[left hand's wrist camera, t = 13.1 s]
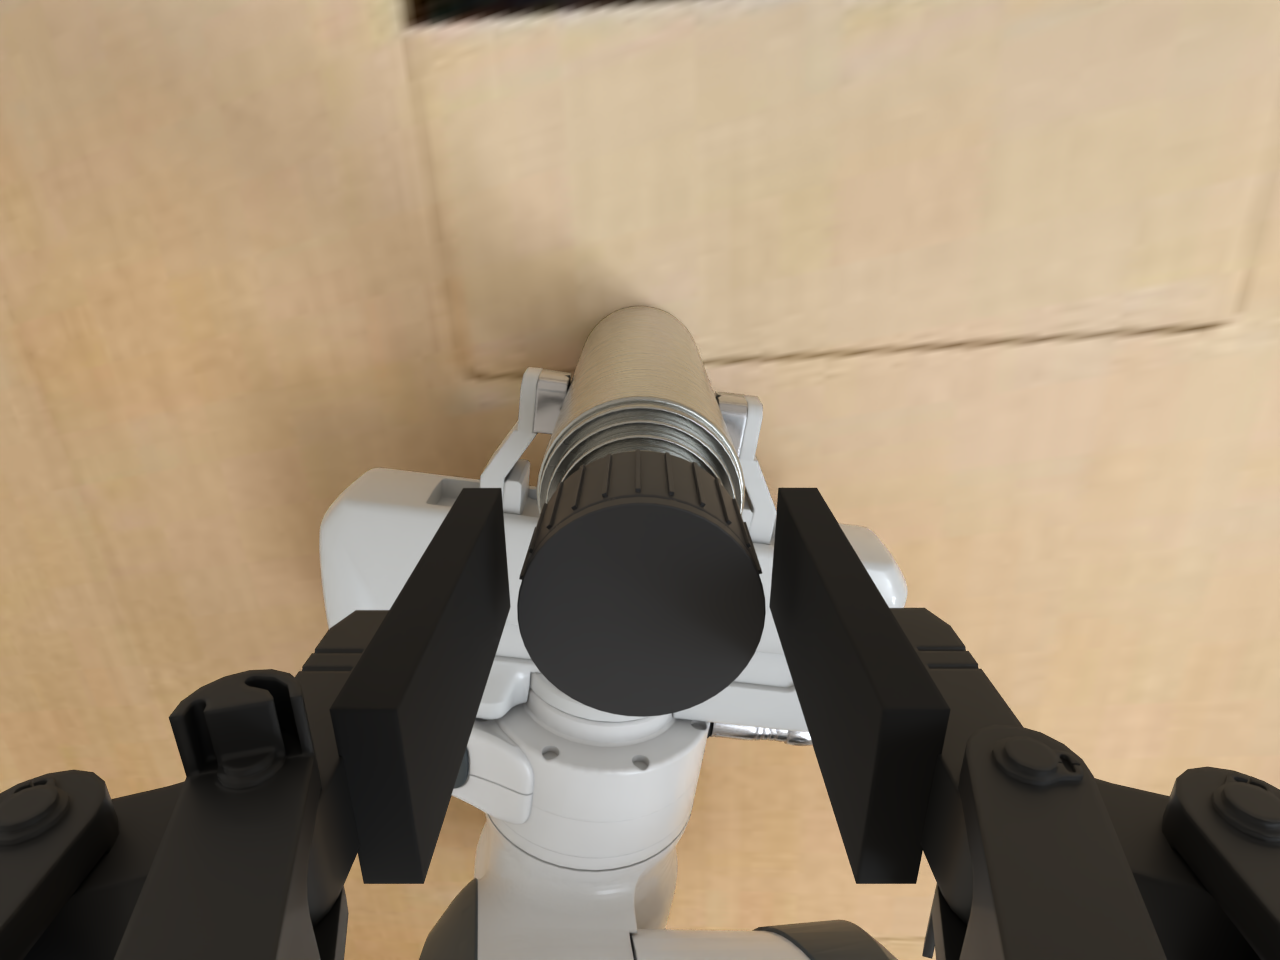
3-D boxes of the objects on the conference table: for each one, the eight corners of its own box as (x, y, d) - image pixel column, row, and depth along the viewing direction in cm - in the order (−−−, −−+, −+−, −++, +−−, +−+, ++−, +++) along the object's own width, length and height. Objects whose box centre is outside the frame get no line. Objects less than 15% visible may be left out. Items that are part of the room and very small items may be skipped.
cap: (508, 600, 15) (482, 677, 13) (575, 415, 14) (561, 463, 11) (698, 661, 16) (708, 747, 13) (782, 490, 14) (811, 551, 12)
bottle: (565, 398, 31) (466, 673, 13) (604, 287, 29) (551, 430, 11) (672, 437, 31) (716, 749, 14) (717, 331, 30) (831, 531, 12)
